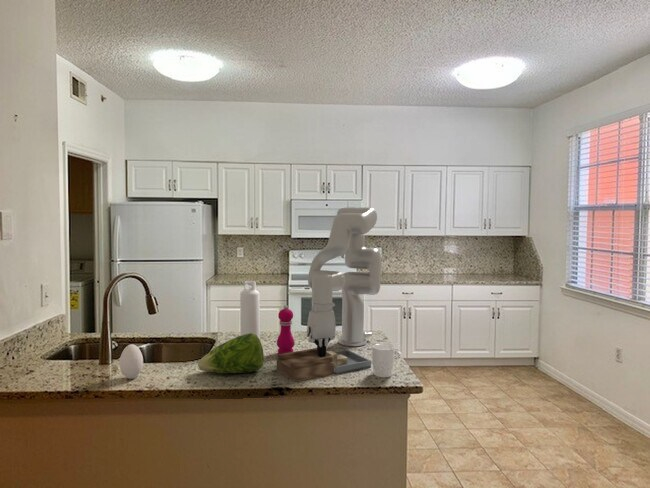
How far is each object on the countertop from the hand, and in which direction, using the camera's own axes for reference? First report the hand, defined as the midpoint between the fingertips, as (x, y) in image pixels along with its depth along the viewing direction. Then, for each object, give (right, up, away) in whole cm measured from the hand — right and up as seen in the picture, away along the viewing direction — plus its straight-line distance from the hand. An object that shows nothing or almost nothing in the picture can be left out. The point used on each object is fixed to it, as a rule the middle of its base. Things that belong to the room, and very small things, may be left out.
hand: (321, 356), depth 167 cm
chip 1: (+2, -1, +2) cm, 3 cm away
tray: (+8, -4, +5) cm, 10 cm away
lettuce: (-32, -5, -5) cm, 33 cm away
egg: (-65, -5, -12) cm, 66 cm away
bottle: (-31, -3, +26) cm, 40 cm away
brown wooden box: (-6, -5, -3) cm, 8 cm away
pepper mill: (-15, -3, +17) cm, 23 cm away
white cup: (+22, -5, -5) cm, 23 cm away
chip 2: (+7, -1, +4) cm, 8 cm away
